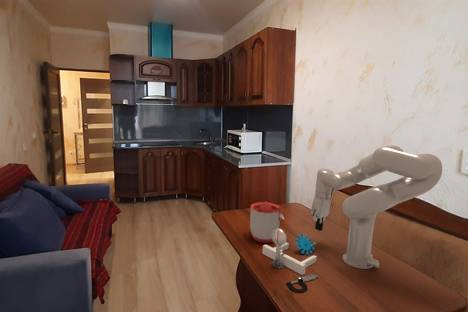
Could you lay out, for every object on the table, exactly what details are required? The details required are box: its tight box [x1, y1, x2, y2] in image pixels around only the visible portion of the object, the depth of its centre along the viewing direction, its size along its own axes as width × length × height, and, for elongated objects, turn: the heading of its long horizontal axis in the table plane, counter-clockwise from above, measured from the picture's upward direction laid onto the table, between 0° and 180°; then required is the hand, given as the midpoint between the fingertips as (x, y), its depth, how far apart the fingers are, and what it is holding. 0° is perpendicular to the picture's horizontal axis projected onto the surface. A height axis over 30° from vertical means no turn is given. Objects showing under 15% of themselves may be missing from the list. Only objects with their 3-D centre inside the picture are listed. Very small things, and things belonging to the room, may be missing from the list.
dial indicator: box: [269, 227, 288, 270], centre depth 121 cm, size 7×6×16 cm
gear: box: [294, 233, 317, 256], centre depth 136 cm, size 11×6×10 cm
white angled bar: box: [262, 241, 317, 276], centre depth 127 cm, size 22×14×4 cm, turn 41°
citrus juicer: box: [249, 201, 285, 244], centre depth 146 cm, size 16×17×20 cm
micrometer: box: [285, 273, 319, 294], centre depth 108 cm, size 15×7×2 cm, turn 115°
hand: (318, 229), depth 142 cm, fingers closed
